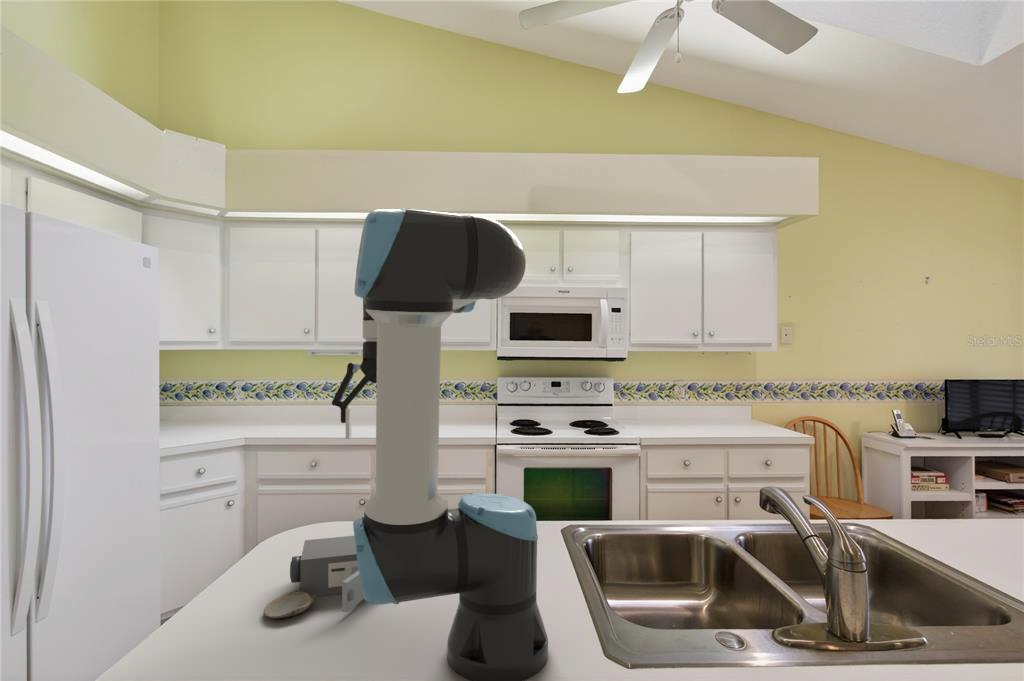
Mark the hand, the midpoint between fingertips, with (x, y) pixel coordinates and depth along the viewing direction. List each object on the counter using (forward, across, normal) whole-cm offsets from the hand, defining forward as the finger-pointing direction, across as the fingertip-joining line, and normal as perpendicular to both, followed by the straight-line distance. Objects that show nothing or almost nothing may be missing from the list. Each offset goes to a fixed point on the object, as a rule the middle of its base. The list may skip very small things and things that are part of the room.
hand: (380, 437), depth 120 cm
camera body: (+26, +6, +13) cm, 29 cm away
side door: (+25, 0, +22) cm, 33 cm away
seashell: (+26, +12, +24) cm, 38 cm away
